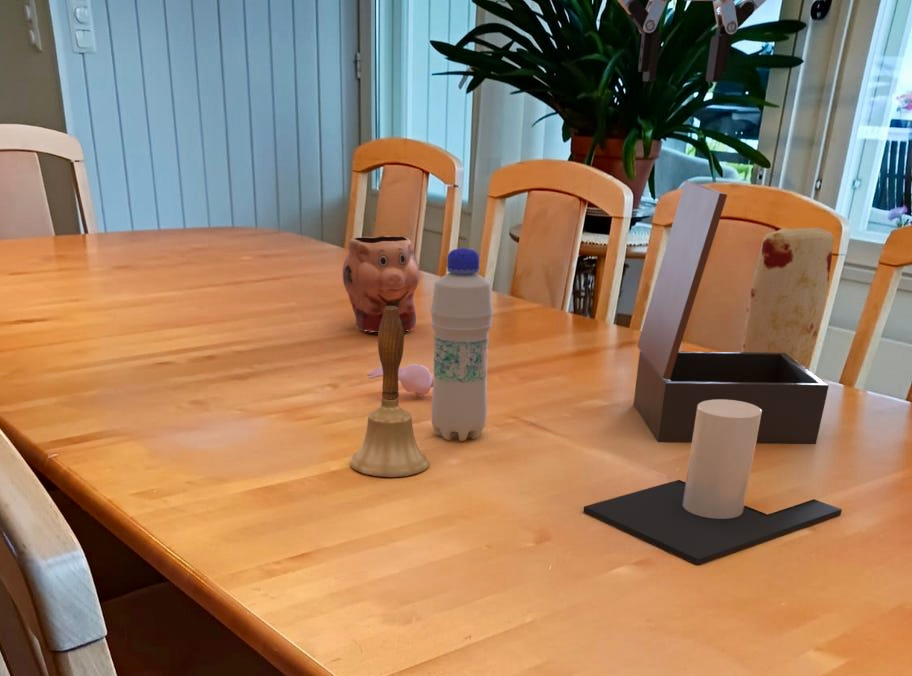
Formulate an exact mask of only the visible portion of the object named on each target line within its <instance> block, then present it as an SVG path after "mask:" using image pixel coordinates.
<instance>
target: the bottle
mask: <svg viewBox="0 0 912 676" xmlns="http://www.w3.org/2000/svg"><path fill="white" fill-rule="evenodd" d="M446 261H447V265H446V266H447V268H446V269H447V272H448V273H446V274H445V275H443V276H441V277H440V278H437V279H436V280H435V282H434V287H433V295H432V302H431V307H430V314H431V322H430V324H431V326H432V329H433V331H434V334H433V379H434V383H433V387H432V396H431V397H432V398H431V407H430V409H431V411H430V412H431V413H430V415H431V416H430V417H431V425H432V429H433V431H434V433H435V434H436V435H437V436H439V437H443V439H445V440H448V441H449V440H452V435H453V432H454V433H457V436H458V440H459V441H460V442H463V441H466V440H467V438H468V435H470V438H471V439H473V440H474V439H477V438H479V437H480V436H481V434H482V432H483V431H484V429H485V428H486V423H487V417H488V416H487V415H488V395H487V394H488V392H487V391H488V390H487V389H488V388H487V377H488V355H489V353H488V352H489V332H490V330H491V327H492V325H493V323H492V319H493V314H494V309H493V308H494V307H493V298H492V297H493V296H492V287H491V281H489V279H486V278H485V277H483V276H482V275H481V274H479V272H480V255H479V253H478V251H476V250H475V249H471V248H467V247H461V248H455V249H452V250H450V252H449V253H448V255H447V260H446Z"/></svg>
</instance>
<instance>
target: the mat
mask: <svg viewBox="0 0 912 676" xmlns="http://www.w3.org/2000/svg"><path fill="white" fill-rule="evenodd" d="M685 483H686V481H683V480H681V479H676V480H673V481H669V482H666V483H662V484H659V485H655V486H652V487H651V486H650V487H648V488H645V489H641V490H638V491H634V492H631V493H627V494H624V495H620V496H616V497H612V498H610V499H609V498H608V499H607V500H606V499H605V500H601V501H598V502H595V503H592V504H591V503H590V504H588V505H585V506H583V513H584V514H585V515H588V516H591V517H593V518H595V519H597V520H599V521H601V522H604V523H606V524H608V525H610V526H613V527H615V528H617V529H618V530H620V531H623V532H625V533H627V534H629V535H632V536H633V537H636V538H638V539H640V540H643V541H645V542H647V543H648V544H651V545H653V546H656V547H657V548H660V549H661V550H664V551H666V552H668V553H670V554H673V555H674V556H677V557H678V558H681V559H683V560H686V561H688V562H690V563H692V564H694V565H696V566H700V565H702V564H705V563H707V562H710V561H714V560H716V559H719V558H722V557H725V556H728V555H732V554H733V553H736V552H739V551H742V550H745V549H748V548H751V547H753V546H756V545H760V544H762V543H765V542H769V541H771V540H773V539H776V538H779V537H782V536H784V535H785V536H786V535H788V534H790V533H793V532H796V531H799V530H802V529H804V528H807V527H810V526H813V525H815V524H818V523H821V522H825V521H827V520H830V519H833V518H835V517H838V516H841V515H842V511H843V510H842V508H841V507H840V508H839V507H837V506H835V505H831V504H829V503H826V502H823V501H820V500H819V499H818V500H817V499H815V498H813V499H810V500H807V501H805V502H801V503H797V504H795V505H793V506H789V507H787V508H782V509H780V510H777V511H774V512H770V513H765V512H763V511H760V510H757V509H755V508H752V507H750V506H747V505H745V506H744V511H743V513H742V514H741V515H740V516H738V517H735V518H729V519H713V518H706V517H701V516H698V515H695V514H692V513H690V512H688V511H687V510H685V509H684V507H683V505H682V503H683V496H684V490H685Z"/></svg>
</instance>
